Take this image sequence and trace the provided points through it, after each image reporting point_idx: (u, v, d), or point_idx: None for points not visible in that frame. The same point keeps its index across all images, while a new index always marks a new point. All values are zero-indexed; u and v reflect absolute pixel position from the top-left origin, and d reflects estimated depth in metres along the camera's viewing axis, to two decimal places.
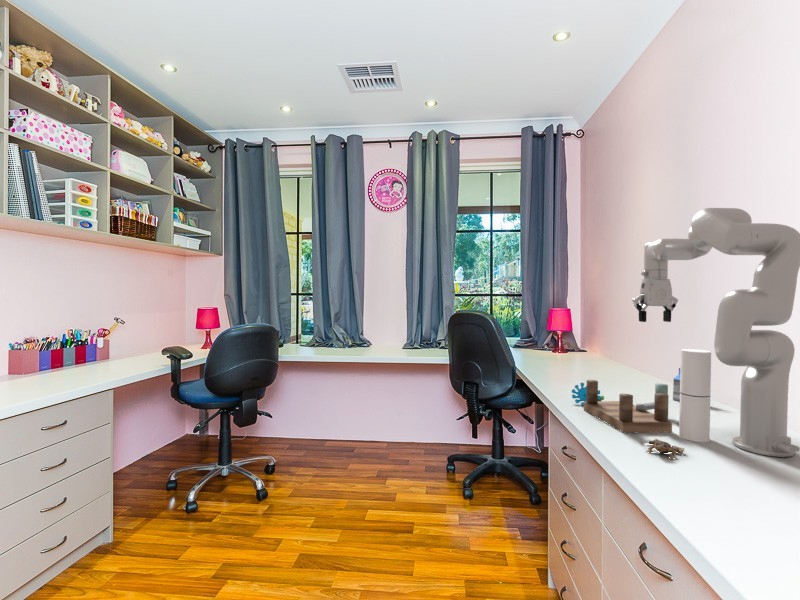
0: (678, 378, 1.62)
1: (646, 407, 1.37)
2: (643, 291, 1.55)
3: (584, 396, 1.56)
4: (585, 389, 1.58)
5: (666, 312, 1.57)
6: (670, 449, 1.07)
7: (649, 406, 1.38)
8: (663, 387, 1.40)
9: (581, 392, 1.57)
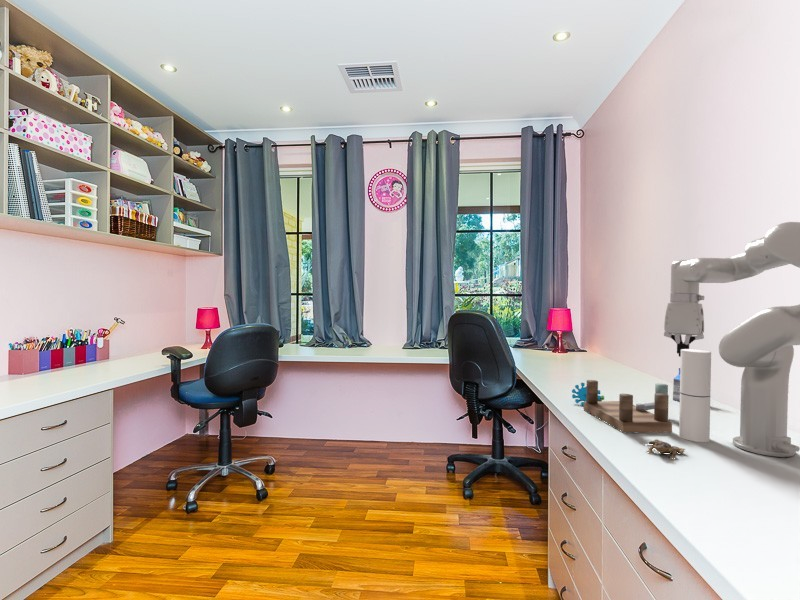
0: (678, 378, 1.62)
1: (646, 407, 1.37)
2: (703, 318, 1.32)
3: (584, 396, 1.56)
4: (585, 389, 1.58)
5: None
6: (670, 449, 1.07)
7: (649, 406, 1.38)
8: (663, 387, 1.40)
9: (582, 392, 1.57)
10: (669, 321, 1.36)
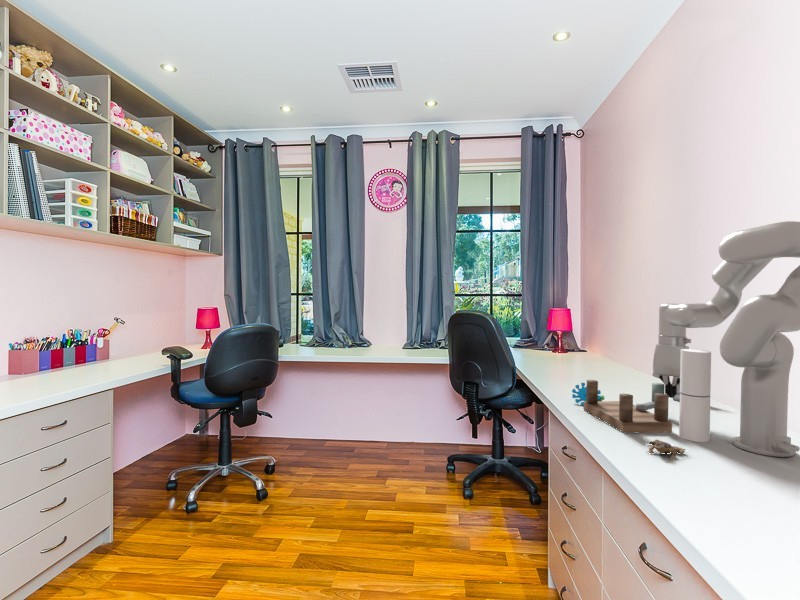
0: None
1: (646, 407, 1.38)
2: None
3: (584, 396, 1.56)
4: (585, 389, 1.58)
5: None
6: (671, 450, 1.07)
7: (648, 406, 1.38)
8: (660, 386, 1.41)
9: (582, 391, 1.58)
10: (657, 362, 1.40)
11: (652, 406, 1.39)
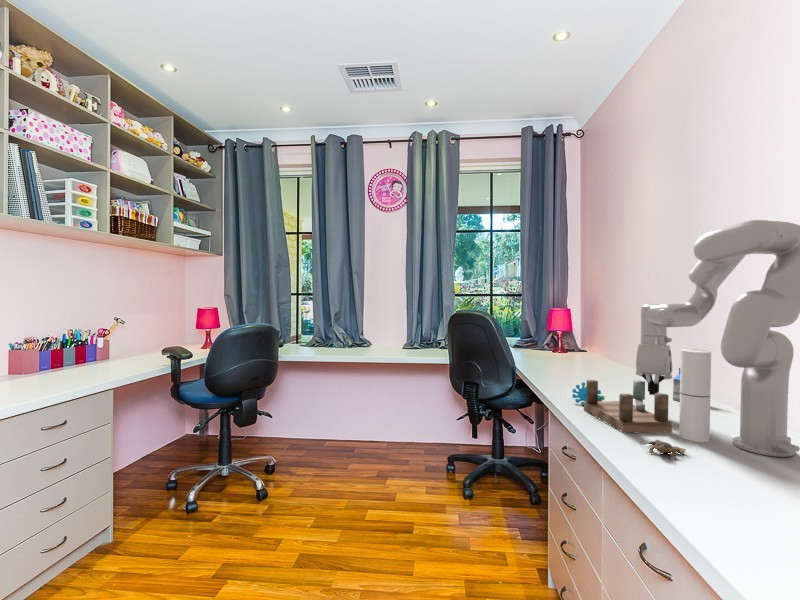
0: (678, 378, 1.62)
1: None
2: (670, 359, 1.40)
3: (584, 396, 1.56)
4: (586, 389, 1.58)
5: None
6: (671, 450, 1.07)
7: None
8: (644, 384, 1.45)
9: (582, 391, 1.58)
10: (640, 361, 1.45)
11: None
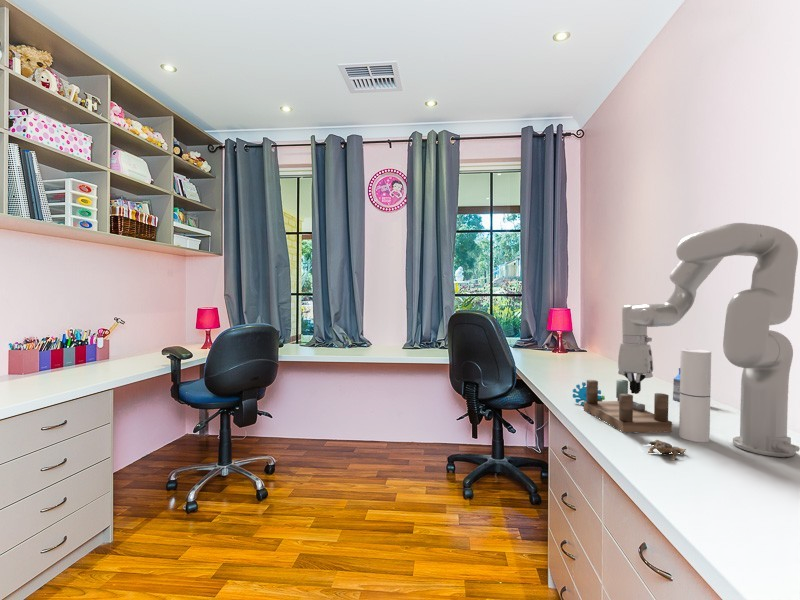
0: (678, 378, 1.62)
1: None
2: (651, 358, 1.44)
3: (584, 396, 1.56)
4: (586, 389, 1.58)
5: None
6: (671, 450, 1.07)
7: None
8: None
9: (582, 391, 1.58)
10: (622, 360, 1.48)
11: None
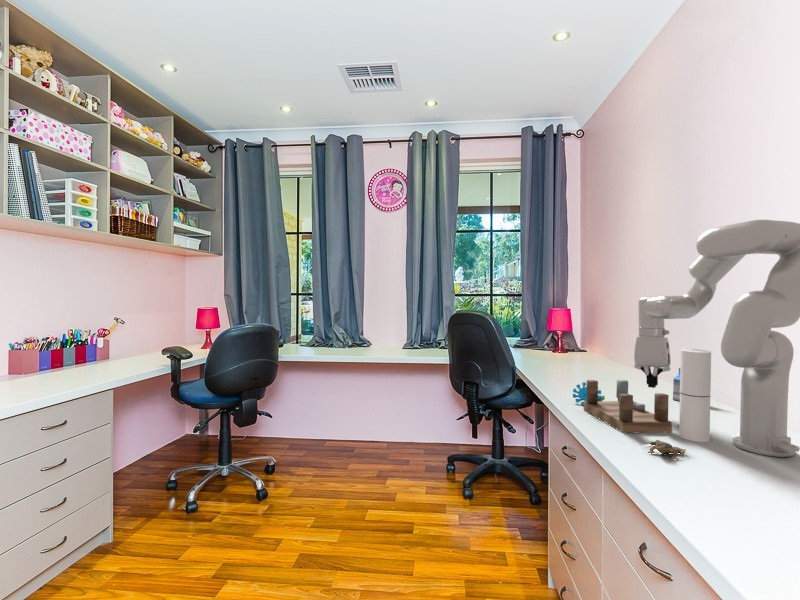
0: (678, 378, 1.62)
1: None
2: (668, 351, 1.41)
3: (585, 396, 1.56)
4: (586, 389, 1.58)
5: None
6: (671, 450, 1.07)
7: None
8: None
9: (582, 391, 1.58)
10: (638, 354, 1.45)
11: None
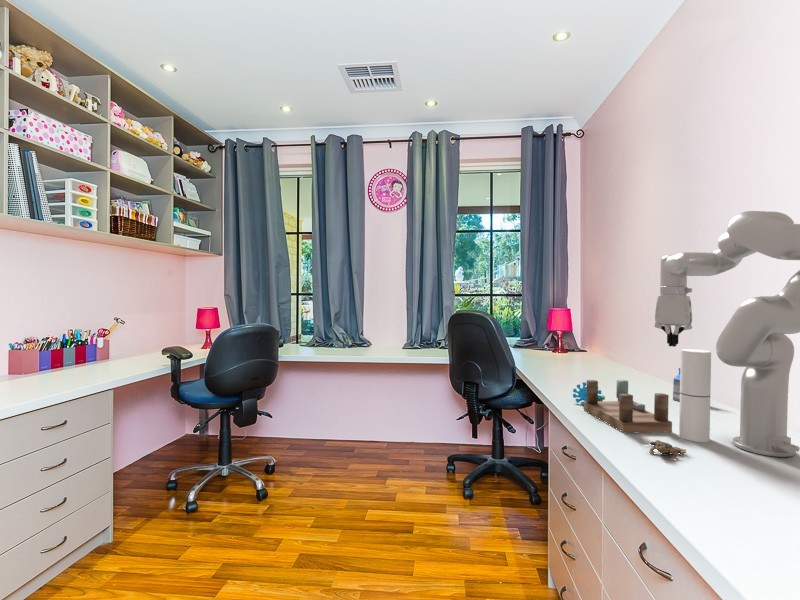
0: (678, 378, 1.62)
1: None
2: (691, 309, 1.40)
3: (585, 395, 1.57)
4: (586, 389, 1.58)
5: None
6: (672, 450, 1.07)
7: None
8: None
9: (583, 391, 1.58)
10: (659, 313, 1.44)
11: None
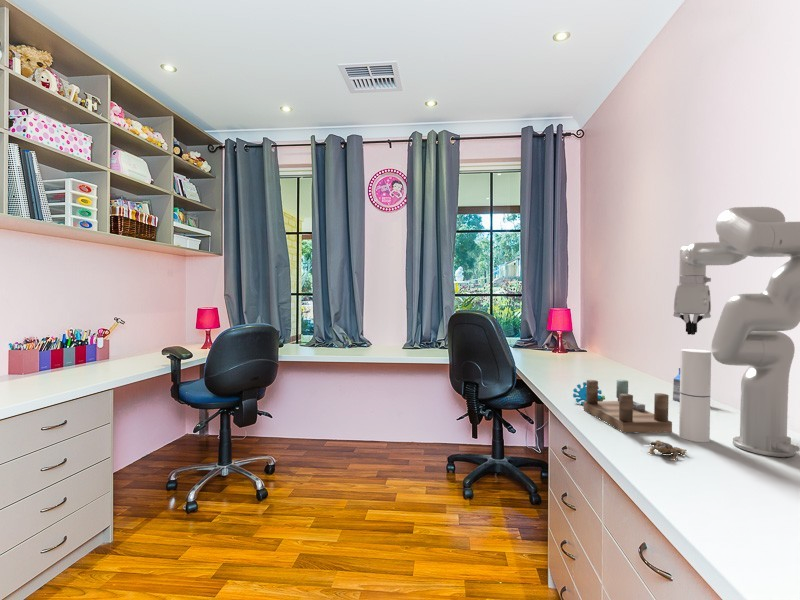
0: (678, 378, 1.62)
1: None
2: (709, 298, 1.43)
3: (585, 395, 1.57)
4: None
5: None
6: (672, 450, 1.06)
7: None
8: None
9: (583, 391, 1.58)
10: (678, 302, 1.47)
11: None
